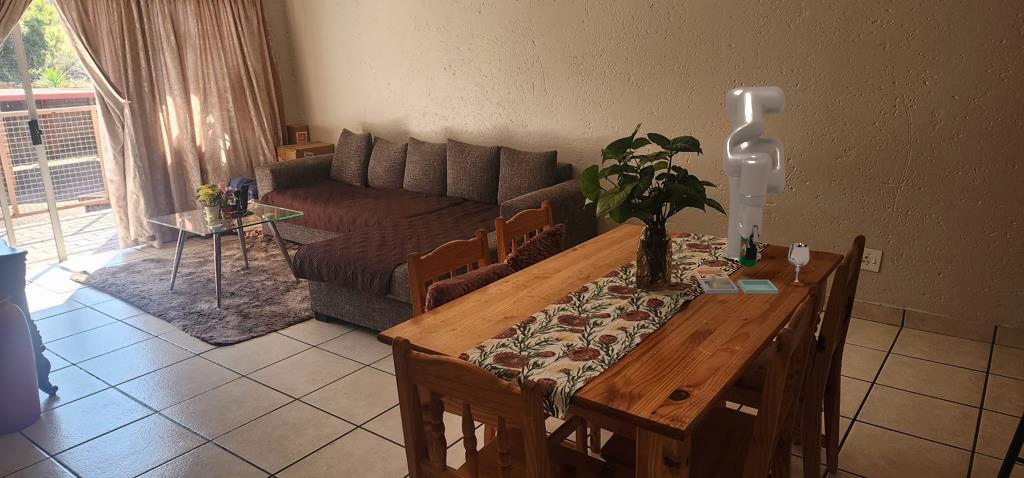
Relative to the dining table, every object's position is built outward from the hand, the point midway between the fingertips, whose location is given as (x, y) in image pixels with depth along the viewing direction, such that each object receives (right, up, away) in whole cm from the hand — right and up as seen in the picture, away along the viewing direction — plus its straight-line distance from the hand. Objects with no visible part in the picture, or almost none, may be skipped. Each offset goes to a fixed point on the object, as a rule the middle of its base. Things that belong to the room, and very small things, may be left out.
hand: (748, 255), depth 203 cm
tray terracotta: (-11, -7, 0) cm, 13 cm away
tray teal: (-1, -10, -10) cm, 14 cm away
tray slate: (-12, -10, -9) cm, 18 cm away
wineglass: (+12, -8, -6) cm, 16 cm away
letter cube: (-12, -9, -10) cm, 18 cm away
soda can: (0, -3, +1) cm, 3 cm away
